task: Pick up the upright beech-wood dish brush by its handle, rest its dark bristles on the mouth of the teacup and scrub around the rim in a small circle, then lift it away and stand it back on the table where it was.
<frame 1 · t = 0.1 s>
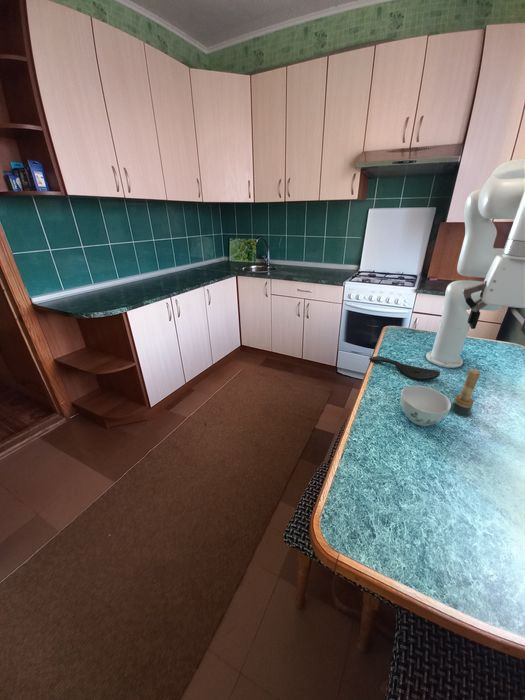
hand: (497, 329, 65), 31 cm above the table, tool pointing down, fingers open, 9 cm apart
hairbrush: (401, 370, 110), on the table
teacup: (420, 417, 86), on the table
dish brush: (460, 410, 88), on the table
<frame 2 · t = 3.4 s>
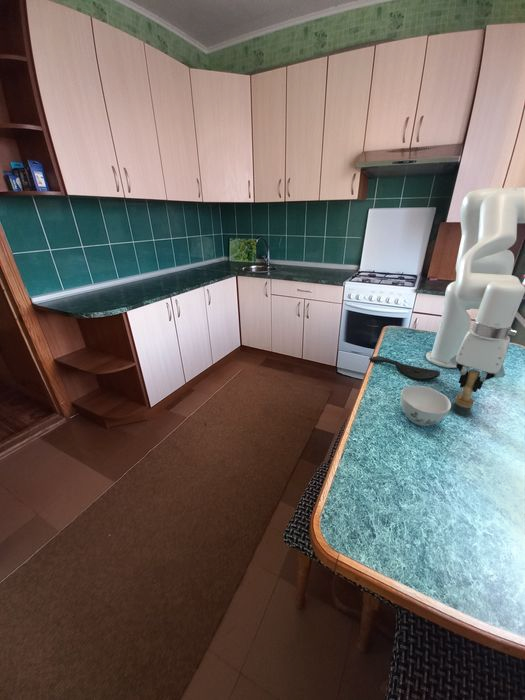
hand: (468, 387, 84), 9 cm above the table, tool pointing down, fingers closed on dish brush, 2 cm apart
dish brush: (460, 410, 88), on the table, touching gripper
everything else where it was.
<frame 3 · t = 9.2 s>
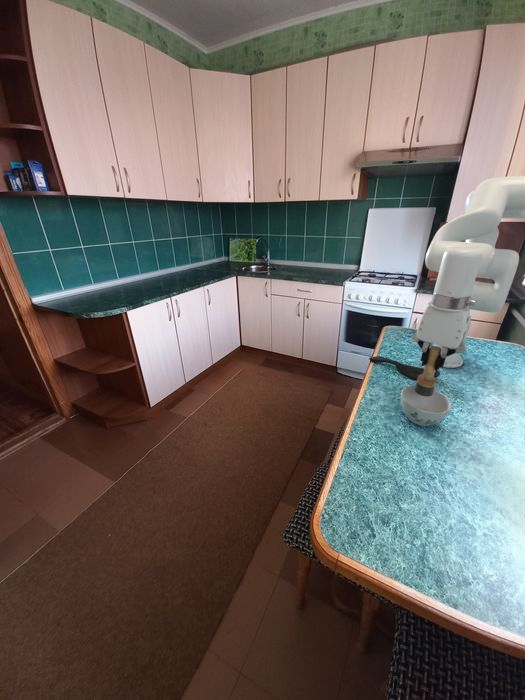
hand: (430, 365, 78), 17 cm above the table, tool pointing down, fingers closed on dish brush, 2 cm apart
dish brush: (423, 391, 82), point 9 cm above the table, touching gripper
everything else where it was.
when the fingers open (9 cm above the table, at t = 15.0 s): dish brush stays where it is, on the table.
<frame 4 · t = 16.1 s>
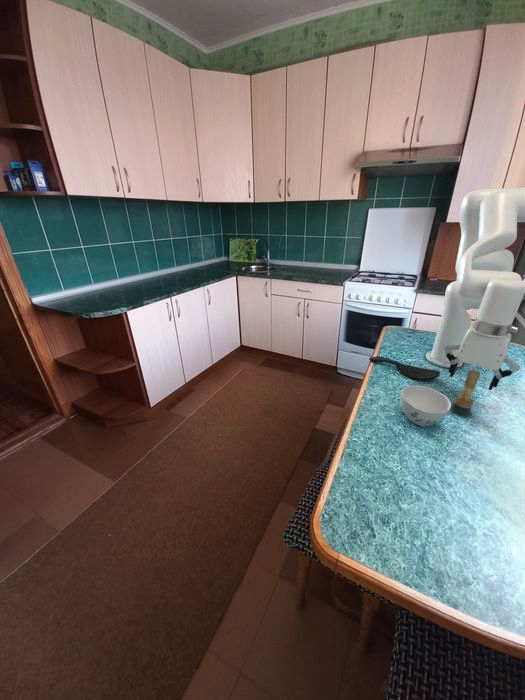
hand: (470, 381, 83), 10 cm above the table, tool pointing down, fingers open, 9 cm apart
dish brush: (460, 411, 88), on the table
everything else where it was.
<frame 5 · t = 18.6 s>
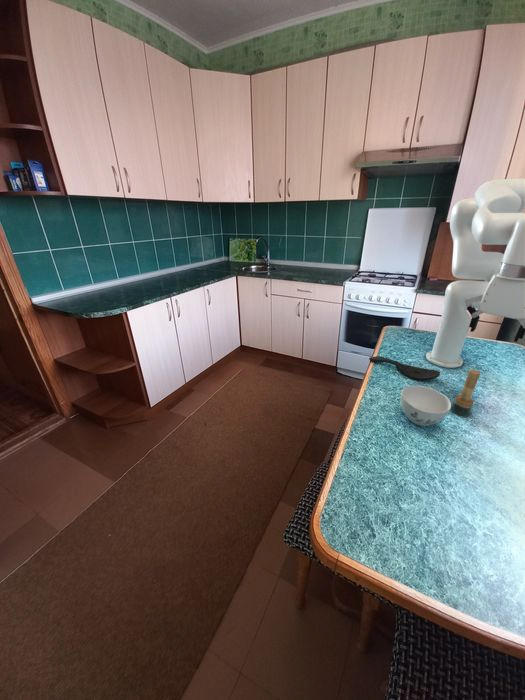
hand: (493, 335, 78), 24 cm above the table, tool pointing down, fingers open, 9 cm apart
nothing on the table moved.
at the end: dish brush 0.2 cm from the target spot, on the table; dish brush tilted 0°; teacup moved 0.2 cm from its start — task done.
